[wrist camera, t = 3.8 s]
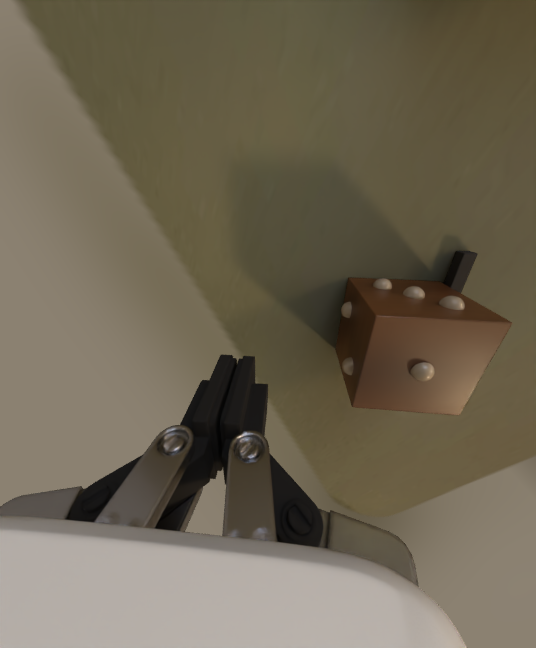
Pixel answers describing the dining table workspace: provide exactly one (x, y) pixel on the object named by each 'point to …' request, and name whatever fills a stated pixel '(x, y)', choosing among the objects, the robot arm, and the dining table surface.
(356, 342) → the die
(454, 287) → the stop strip
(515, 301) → the dining table surface
